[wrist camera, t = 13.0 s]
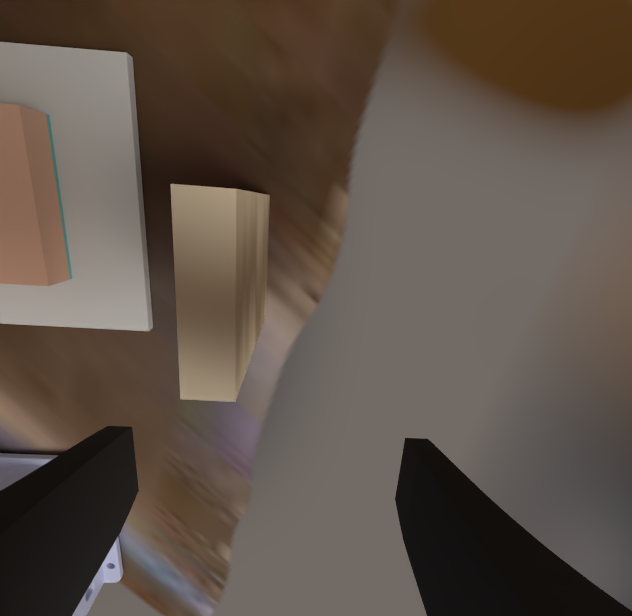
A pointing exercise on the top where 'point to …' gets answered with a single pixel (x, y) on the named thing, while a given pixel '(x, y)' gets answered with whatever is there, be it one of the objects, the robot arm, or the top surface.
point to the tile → (30, 201)
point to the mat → (86, 186)
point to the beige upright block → (218, 285)
